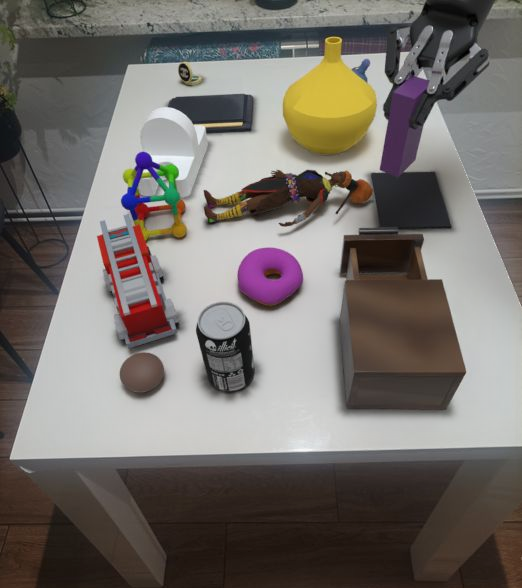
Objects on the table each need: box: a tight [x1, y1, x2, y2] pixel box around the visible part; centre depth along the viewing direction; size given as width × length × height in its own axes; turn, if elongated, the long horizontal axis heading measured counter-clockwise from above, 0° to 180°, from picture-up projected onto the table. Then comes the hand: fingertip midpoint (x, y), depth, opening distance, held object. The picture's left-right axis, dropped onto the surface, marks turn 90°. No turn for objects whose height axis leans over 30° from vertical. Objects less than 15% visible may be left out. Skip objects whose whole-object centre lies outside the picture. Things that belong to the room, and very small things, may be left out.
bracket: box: [137, 106, 209, 199], centre depth 92 cm, size 19×10×11 cm, turn 172°
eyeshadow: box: [177, 61, 203, 86], centre depth 116 cm, size 4×5×5 cm
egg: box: [119, 351, 165, 393], centre depth 65 cm, size 6×6×4 cm
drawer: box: [339, 227, 428, 280], centre depth 70 cm, size 18×12×7 cm, turn 178°
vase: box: [282, 36, 378, 156], centre depth 91 cm, size 18×18×19 cm
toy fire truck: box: [96, 213, 180, 349], centre depth 71 cm, size 9×19×10 cm, turn 20°
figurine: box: [203, 169, 374, 228], centre depth 85 cm, size 16×8×30 cm
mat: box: [370, 171, 453, 230], centre depth 86 cm, size 12×16×1 cm
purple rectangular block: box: [379, 76, 430, 177], centre depth 64 cm, size 5×3×11 cm, turn 141°
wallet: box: [167, 93, 255, 134], centre depth 107 cm, size 20×2×15 cm
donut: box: [236, 247, 304, 307], centre depth 74 cm, size 10×10×5 cm
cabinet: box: [339, 278, 467, 410], centre depth 62 cm, size 15×13×9 cm
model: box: [120, 151, 188, 242], centre depth 80 cm, size 11×10×15 cm
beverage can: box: [195, 301, 255, 392], centre depth 61 cm, size 7×7×12 cm
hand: (400, 121), depth 61 cm, fingers closed on purple rectangular block, 3 cm apart
